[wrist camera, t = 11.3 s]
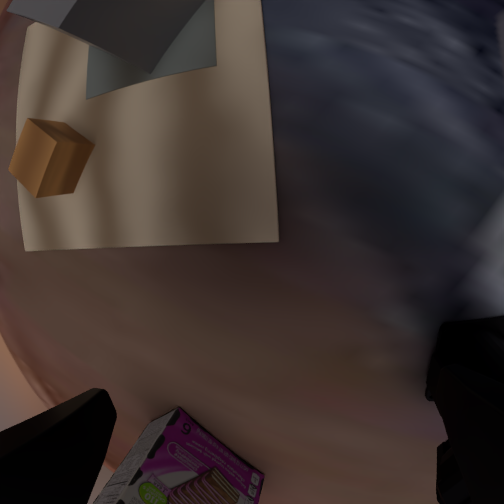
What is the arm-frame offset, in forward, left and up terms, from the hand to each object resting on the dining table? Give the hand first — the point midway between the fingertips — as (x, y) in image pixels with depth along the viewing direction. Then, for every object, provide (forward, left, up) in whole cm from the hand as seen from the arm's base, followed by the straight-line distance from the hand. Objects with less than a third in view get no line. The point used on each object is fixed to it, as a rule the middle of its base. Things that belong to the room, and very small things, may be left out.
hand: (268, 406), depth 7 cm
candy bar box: (+8, +17, -13) cm, 23 cm away
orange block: (+16, -9, -12) cm, 22 cm away
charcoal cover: (+9, -18, -12) cm, 23 cm away
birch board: (+12, -13, -13) cm, 21 cm away
